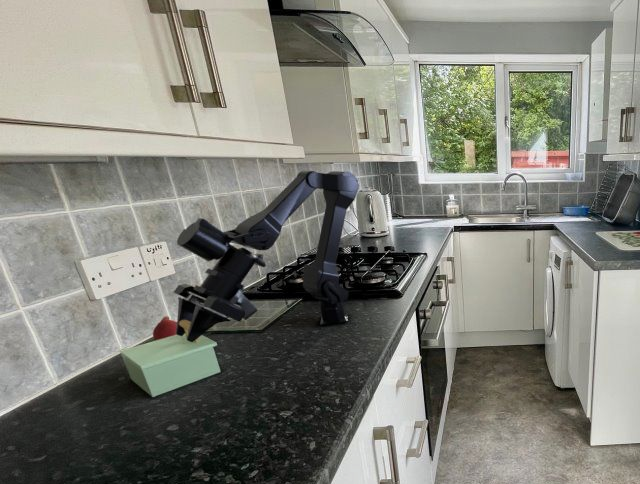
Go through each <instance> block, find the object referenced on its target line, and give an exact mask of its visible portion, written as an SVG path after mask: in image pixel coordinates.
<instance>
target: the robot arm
mask: <svg viewBox="0 0 640 484" xmlns="http://www.w3.org/2000/svg"><path fill="white" fill-rule="evenodd" d="M317 189H318V190H322V194H323V198H324V200H325V209H324V213H323V219H322V224H321V228H320V233H319V238H318V243H317V247H316V248H317V249H316V254H315V258H314V260H313V262H312V263H311V264H304V266H303V274H302V277H301V278H300V280H301V281H302V287H303V289H304V290H305V291H306V292H307V293H308V294H310V295H311V296H312V298H313V299H317V300H318V303H319V308H320V313H321V317H320V318H321V319H320V323H319V324H320V326H330V325H331V326H332V325H338V324H339V325H340V324H345V323H346V324H347V323H348V313H347V312H345V306H344V301H347V300H348V299H349V293H350V291H349V290H347V289H346V288H344V287H343V286H341V285H340V284H339V279H340V275H339V271H338V268H337V259H338V255H339V250H340V244H341V239H342V235H343V229H344V226H345V225H344V224H345V221H346V220H345V219H346V216H347V211H348V209H349V208H350V207H351V205H352V204H353V203H354V201H355V199H356V197H357V195H358V192H359V189H360V181H359V180H358V178H357V176H356V175H355V174H354V173H352V172H350V171H338V170H337V171H336V170H335V171H333V170H332V171H328V172H327V173H324V172H317V171H314V170H301V171H299V172H298V173H297V174H296V177H295V178H294V179H293V180H292V181H290V183H289V184H288V185H287V186H286V187H285V188H284V189H283V190H282V191H281V192H280V193H279V194H278V195H277V196H276V197H275V198H274V199H273V200H272V201H271V202H270V203H269V204H268V205H267V206H266V207H265V208H264V209H262V210H261V211H259V212H257V213H255V214H253V215H251V216H249V217H247V218H245V220H243V221H241V222H240V223H238V224H237V226H236V227H235V228H234V229H230V230H226V231H222V230H221V229H219V228H217V227H216V226H214V225H213V224H212V223H211V222H210V221H208V220H207V219H205V218H201V217H198V218H197V219H196V221H195V222H193V223H191V224H190V225H188V226H187V227H186V228H185V229H183V230H182V231H181V232H180V234H179V235H178V237H177V240H176V245H178V246H179V247H181V248H182V249H184V250H186V251H188V252H190V253H191V254H193V255H195V256H197V257H199V258H201V259H203V260H205V261H206V262H212V261H214V260H215V261H217V262H216V263H215V265H214V266H213V267H212V269H211V268H206V270H205V272H204V273H205V274H207V276H206V277H205V279H204V280H203V282H202V283H201V284H200V285H195V286H194V285H191V284H188V283H182V284H178V285H177V286H176V288H175V289H174V290H173V293H174V294H175V295H178V297H177V300H178V304H177V305H178V309H177V319H176V322H177V328H176V334H177V335H179V336H183V335H184V334H185V331H184V328H183V327H181V326H180V325H179V322H180V321H181V320H187V321H189V322H191V324H190V328H189V331H188V335H187V341H189V342H194V341H195V340H196V339H197V338H199V337H200V336H201V335H204V334H205V333H206V332H208V331H209V330H210V329H211V328H213V327H214V326H216V325H218V324H221V323H225V322H231V321H232V320H234V321H237V322H238V323H241V322H242V320H244V321H247V320H248V319H249V318H251V317H252V316H253V315H254V314H256V313H258V311H259V310H258V309H257V307H256V306H255V305H254V304H253V303H252V302H251V301H250V300H249V298H247V296H245V295H244V293H243V291H244V290H245V285H244V284H242V283H243V281H244V280H245V279H246V277H247V276H248V274H249V273H250V271H251V270H252V268H253V267H254V266H259V267H261V268H266V267H267V264H266V262H265V259H264V254H261V253H255V254H254V252H252V251H250V250H248V249H252V250H256V251H268V250H270V249H271V248H273V246H274V245H275V243H276V242H277V240H278V239H279V236H280V235H281V232H282V228H283V226H284V224H285V222H286V221H287V220H289V218H290V217H291V216H292V215H293V214H294V213H295V212H296V211H297V210H298V209H299V208H300V207H301V205H302V204H304V202H305V201H306V200H307V199H308V198H309V197H310V196H311V195H312V194H313V193H314V192H315V191H316V190H317ZM232 244H235V245H238V246H242V247H239V248H237V247H235V246H234V245H232ZM246 248H248V249H246ZM231 319H232V320H231Z"/></svg>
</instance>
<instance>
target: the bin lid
mask: <svg viewBox="0 0 640 484" xmlns="http://www.w3.org/2000/svg"><path fill="white" fill-rule="evenodd" d="M190 324H191V322H189V321H187V320H181V321H180V322H179V325H180V326H181V327H183V328H184V331H185V334H184V335H183V336H179V335H174V336H170V337H167V338H163V339H160V340H156V341H155V340H153V341H150V342H147V343H142V344H138V345H135V346H131V347H129V348H125V349H121V350H119V353H120V355H121V354H122V355H123V356H124V357H126V358H127V359H128V360H130V361H131V362H132V363H134V364H135V365H136V366H138V367H139V368H140V369H142V370H143V369H146V368H149V367H152V366H155V365H158V364H162V363H165V362H168V361H171V360H174V359H177V358H180V357H183V356H186V355H189V354H192V353H195V352H199V351H202V350H205V349H208V348H211V347H213V348H214V347H217V346H218V344H217V342H216V341H214V340H212V339H211V338H209V337H206V336H205V335H204V334H202V335H201V336H200V337H199V338H197V339H196V340H195V341H194V342H189V341H187V335H188V331H189V328H190ZM122 355H121V356H122Z"/></svg>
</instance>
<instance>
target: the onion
mask: <svg viewBox="0 0 640 484" xmlns="http://www.w3.org/2000/svg"><path fill="white" fill-rule="evenodd" d="M176 328H177V320H172V319H170V317H169V316H168V315H165V316H163V317H162V319H161V320H160V322H158V323H157V324H156V326H155V327H154V328H153V331H152V337H153V341H156V340H160V339H163V338H167V337H170V336H174V335H177V334H176Z"/></svg>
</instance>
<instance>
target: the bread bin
mask: <svg viewBox="0 0 640 484" xmlns="http://www.w3.org/2000/svg"><path fill="white" fill-rule="evenodd" d="M120 356H121V357H122V360H123V362H124V365H125V367H126V370H127V373H128V375H129V377H130V380H131V381H132V382H133V383H135V384H136V385H137V386H138V387H140V388H141V389H142V390H143V391H145V392H146V393H147V395H149V396H150V397H152V398H154V397H157V396H160V395H162V394H165V393H168V392H170V391H173V390H176V389H179V388H182V387H184V386H187V385H189V384H192V383H195V382H197V381H201V380H203V379H206V378H209V377H211V376H213V375H216V374H219V373H221V368H220V366H219V362H218V359H217V355H216V352H215V349H214V347H211V348H208V349H205V350H202V351H199V352H195V353H192V354H189V355H186V356H183V357H180V358H177V359H174V360H171V361H168V362H165V363H162V364H158V365H155V366H152V367H149V368H146V369H143V370H142V369H140V368H139V367H138V366H136V365H135V364H134V363H132V362H131V361H130V360H128V359H127V358H126V357H124V356H123V355H122V354H121V353H120Z"/></svg>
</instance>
